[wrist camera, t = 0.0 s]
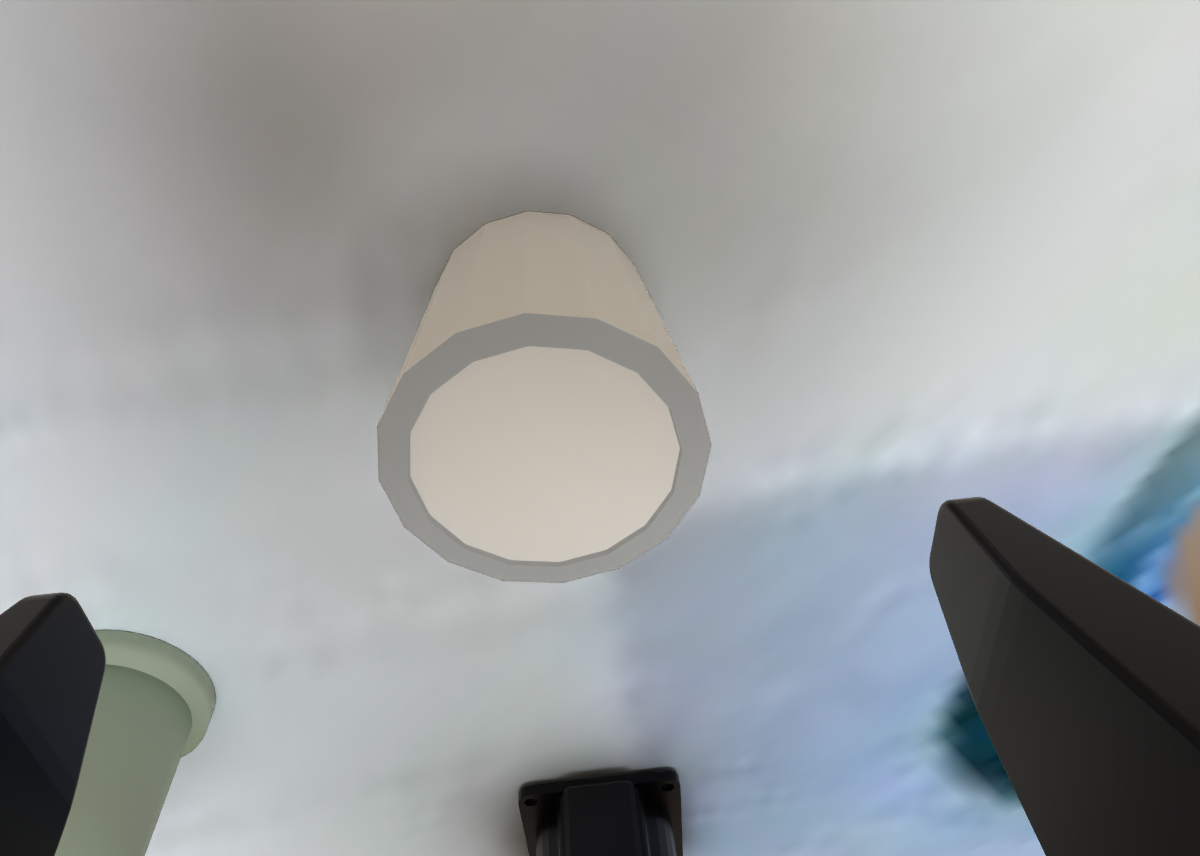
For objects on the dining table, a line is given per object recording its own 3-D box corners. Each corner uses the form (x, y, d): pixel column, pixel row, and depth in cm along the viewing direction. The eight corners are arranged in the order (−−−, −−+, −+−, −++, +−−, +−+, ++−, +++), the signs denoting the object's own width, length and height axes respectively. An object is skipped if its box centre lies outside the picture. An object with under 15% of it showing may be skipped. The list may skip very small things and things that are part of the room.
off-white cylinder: (495, 452, 26) (487, 628, 21) (357, 264, 23) (301, 413, 17) (705, 354, 25) (761, 512, 19) (595, 137, 21) (622, 252, 16)
